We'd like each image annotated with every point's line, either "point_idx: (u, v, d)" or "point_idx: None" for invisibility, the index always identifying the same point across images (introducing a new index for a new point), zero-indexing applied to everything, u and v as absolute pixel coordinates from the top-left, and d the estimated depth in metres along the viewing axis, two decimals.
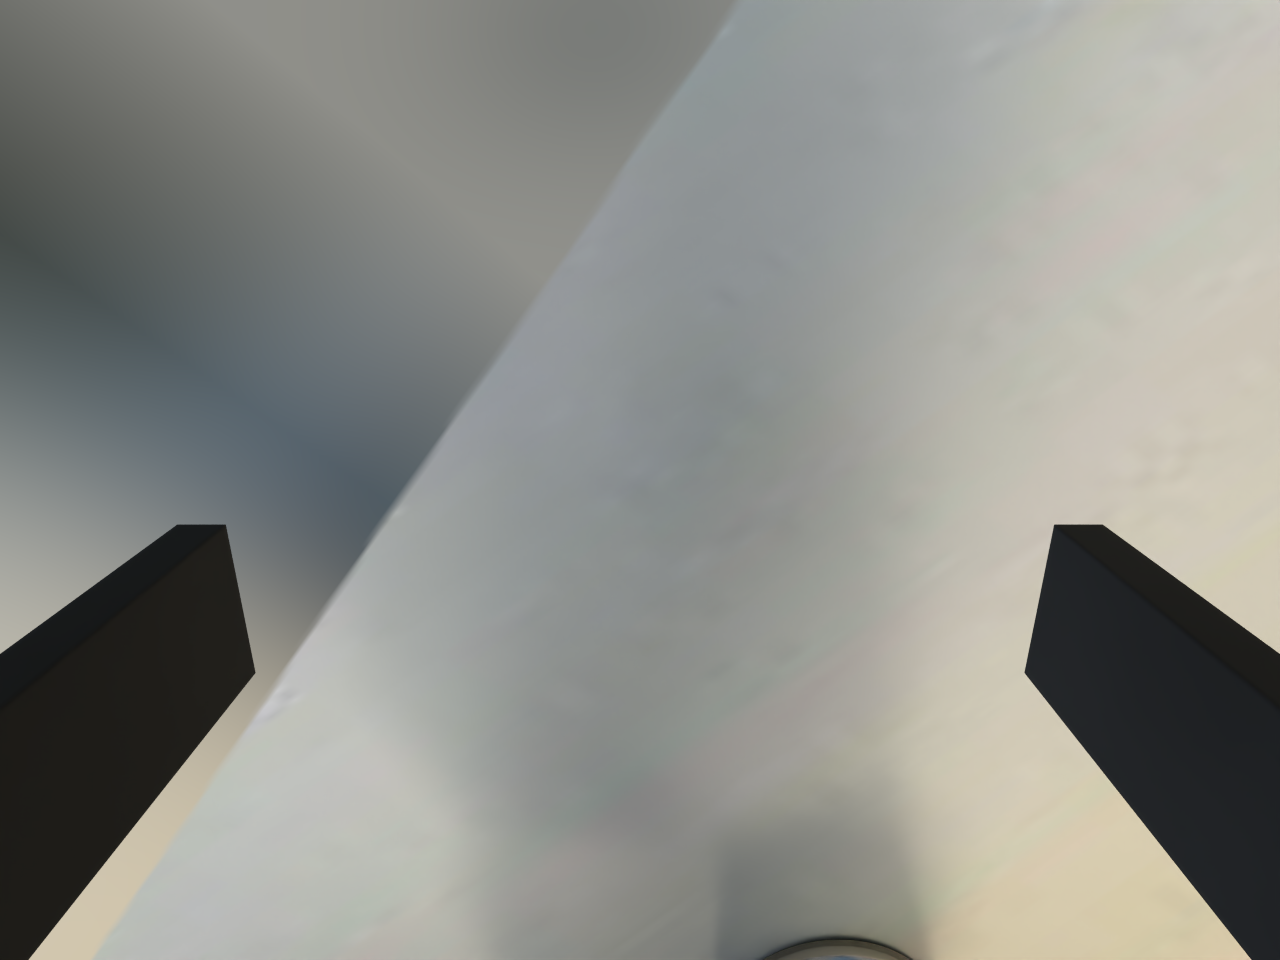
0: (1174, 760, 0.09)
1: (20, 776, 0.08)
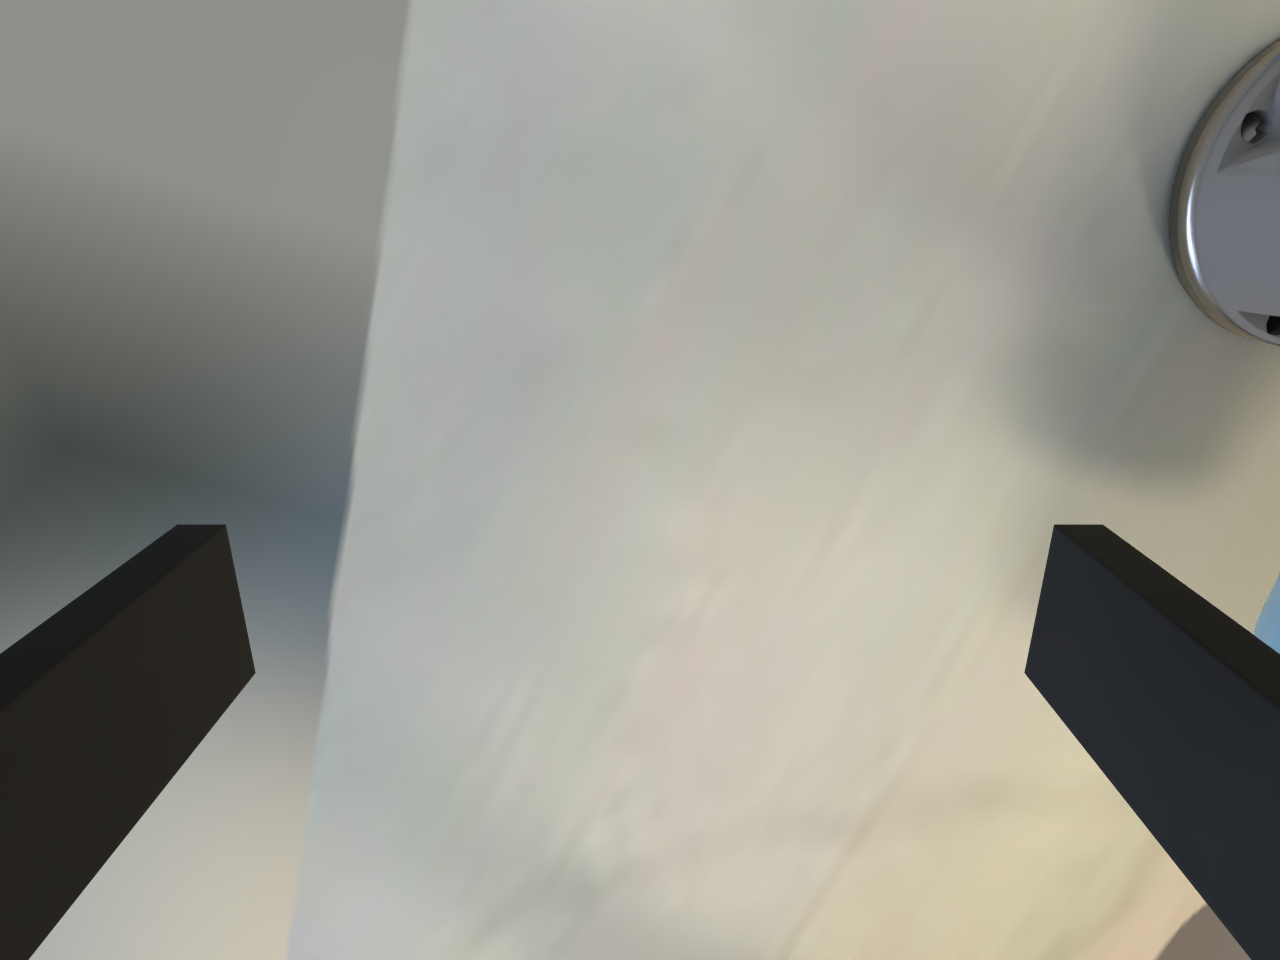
0: (1174, 760, 0.09)
1: (19, 776, 0.08)
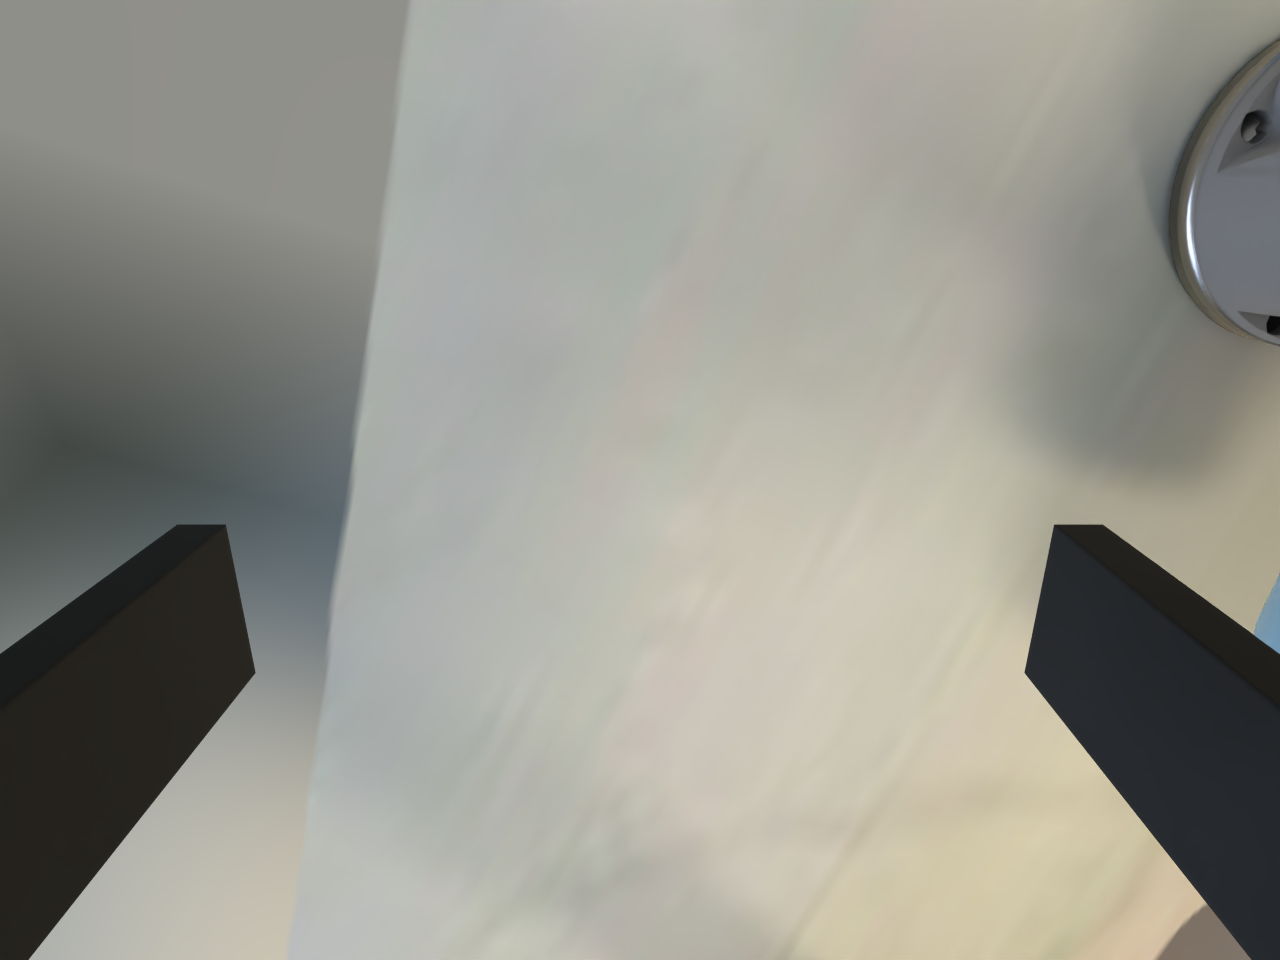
0: (1174, 760, 0.09)
1: (19, 776, 0.08)
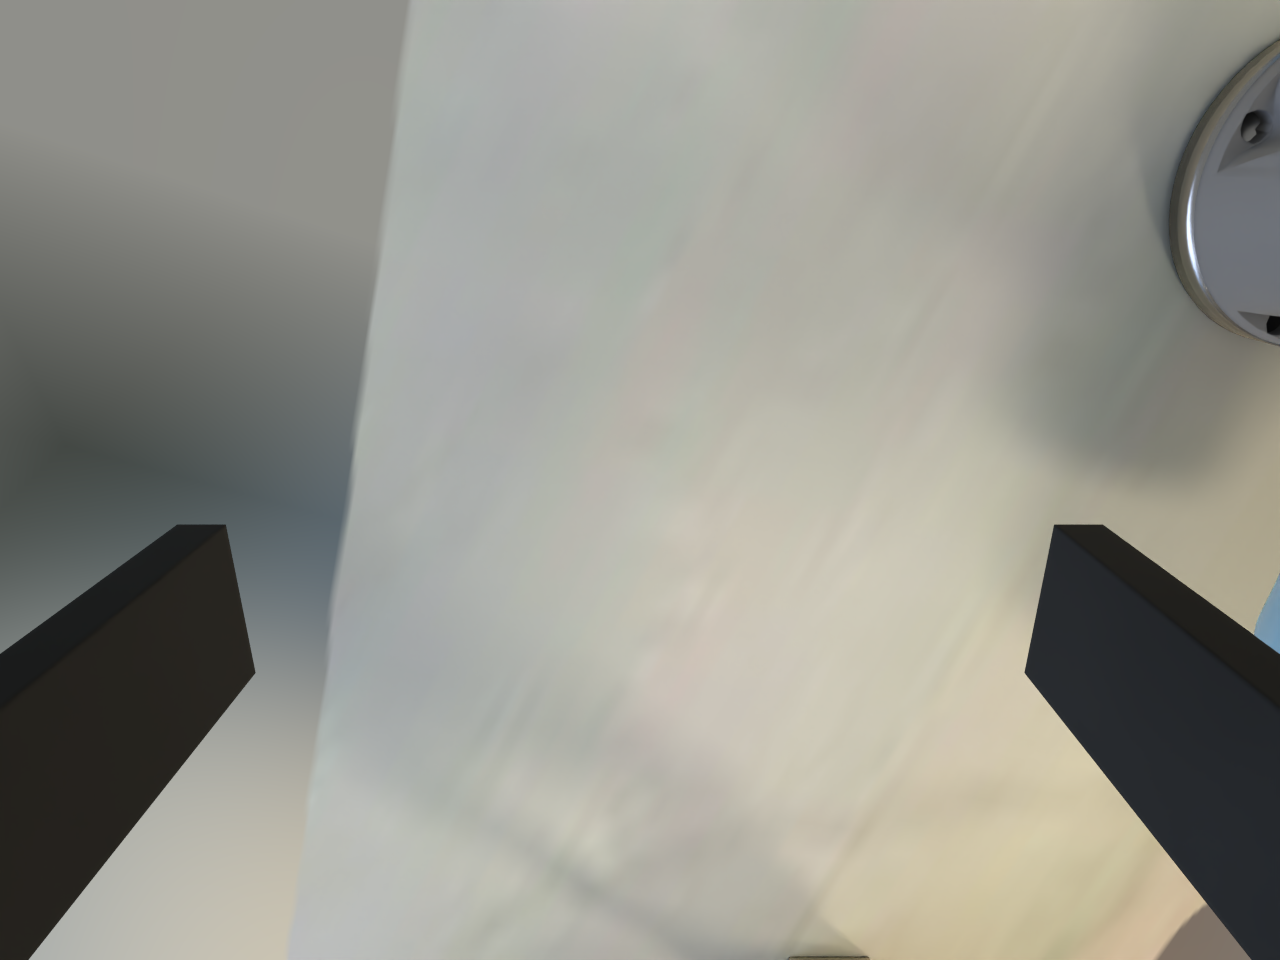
0: (1174, 760, 0.09)
1: (19, 776, 0.08)
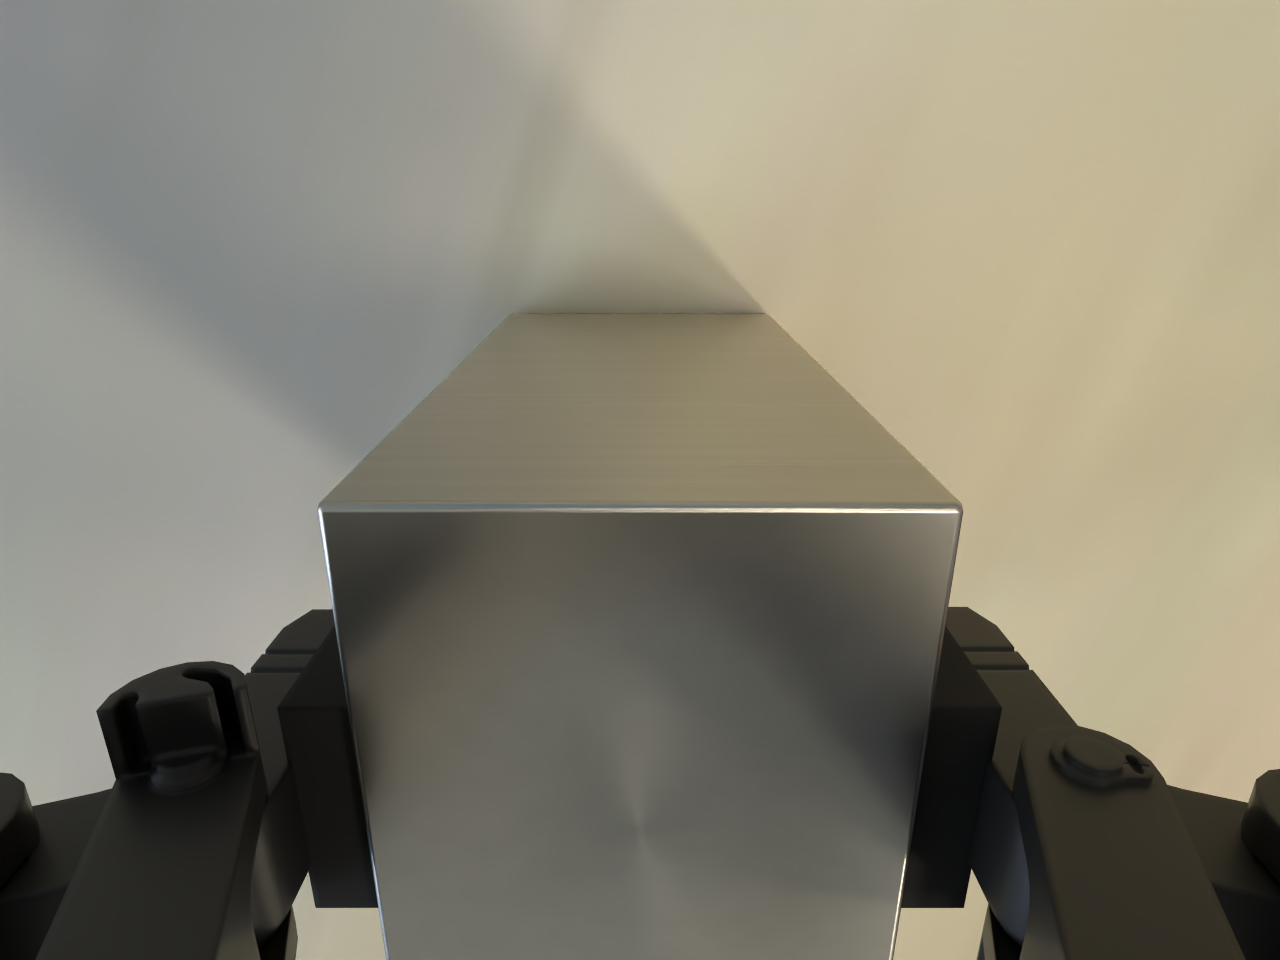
0: None
1: None
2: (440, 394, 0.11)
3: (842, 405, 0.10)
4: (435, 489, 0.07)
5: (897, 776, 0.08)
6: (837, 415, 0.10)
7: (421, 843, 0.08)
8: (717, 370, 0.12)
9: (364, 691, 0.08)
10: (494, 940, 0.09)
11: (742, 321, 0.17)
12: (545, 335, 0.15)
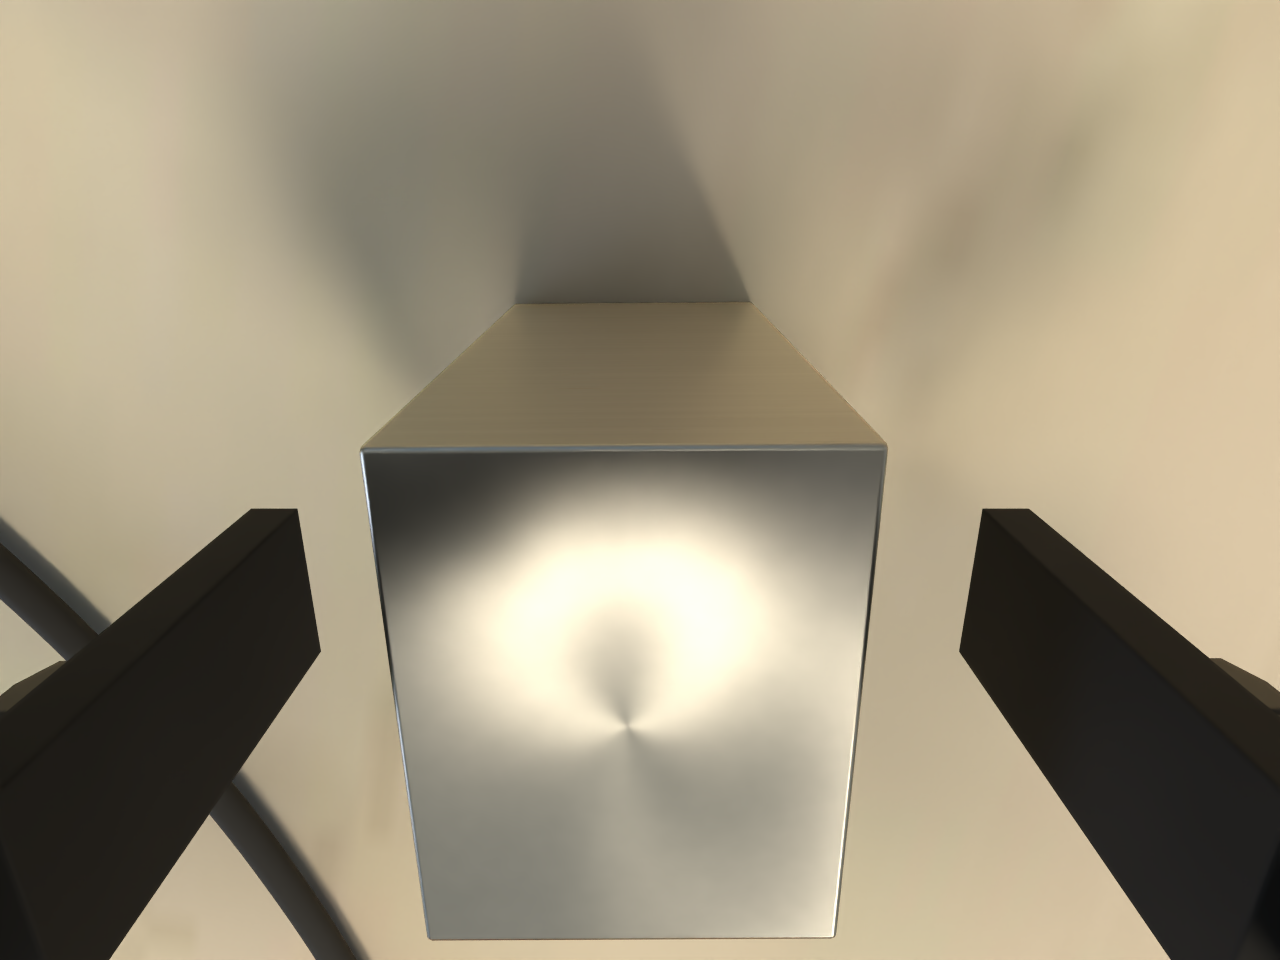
0: (1076, 726, 0.10)
1: (139, 735, 0.09)
2: (454, 368, 0.12)
3: (803, 373, 0.12)
4: (454, 436, 0.09)
5: (842, 677, 0.10)
6: (797, 381, 0.11)
7: (444, 740, 0.10)
8: (698, 347, 0.14)
9: (397, 606, 0.09)
10: (506, 827, 0.10)
11: (726, 308, 0.18)
12: (546, 321, 0.16)
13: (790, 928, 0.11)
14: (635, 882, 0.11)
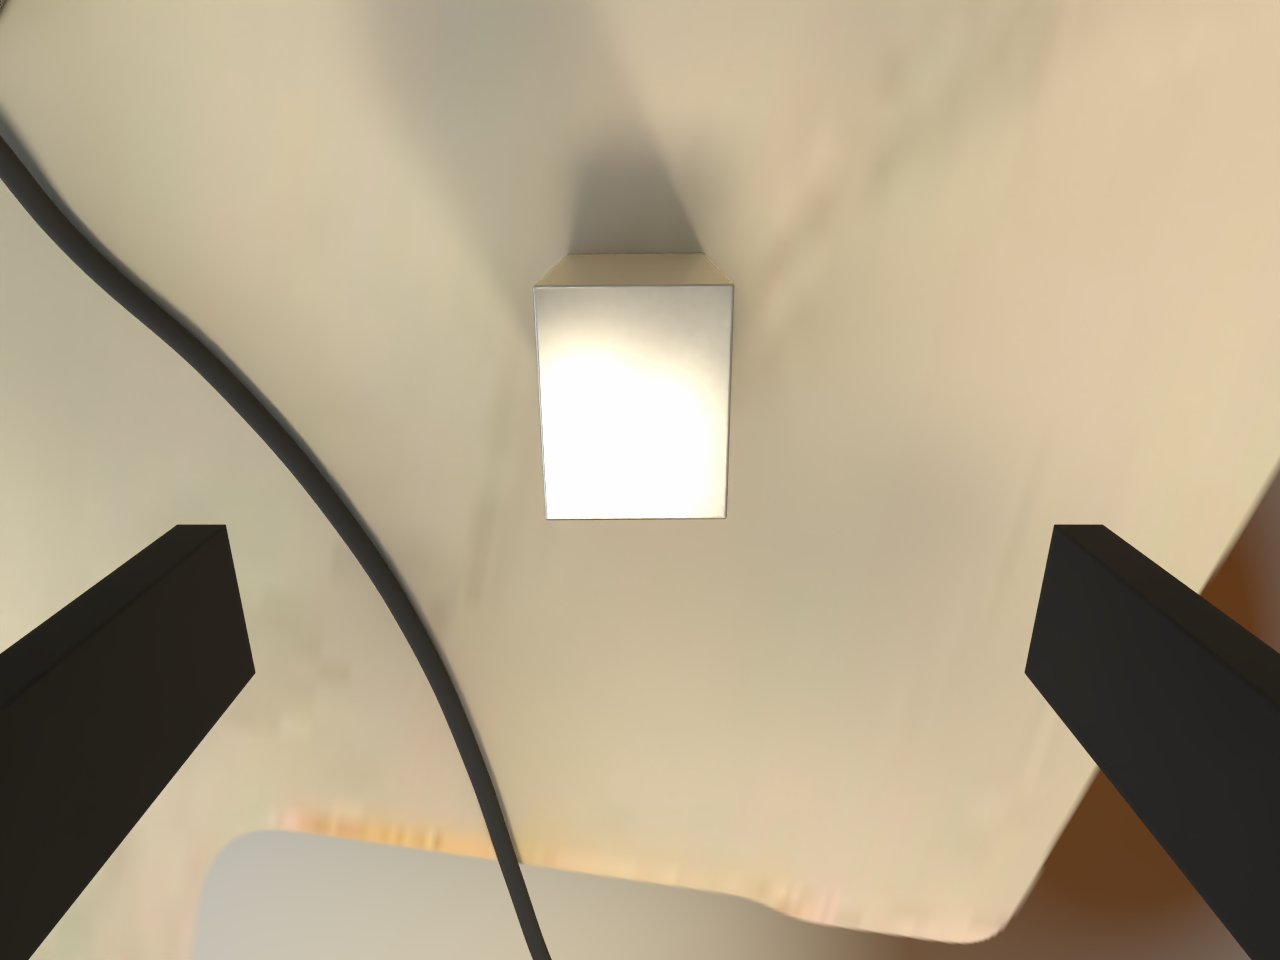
0: (1174, 760, 0.09)
1: (19, 776, 0.08)
2: (553, 271, 0.26)
3: (714, 271, 0.26)
4: (568, 283, 0.23)
5: (722, 385, 0.24)
6: (710, 273, 0.25)
7: (559, 415, 0.24)
8: (668, 266, 0.28)
9: (543, 353, 0.23)
10: (583, 459, 0.24)
11: (688, 255, 0.32)
12: (589, 259, 0.31)
13: (706, 512, 0.25)
14: (638, 487, 0.25)
